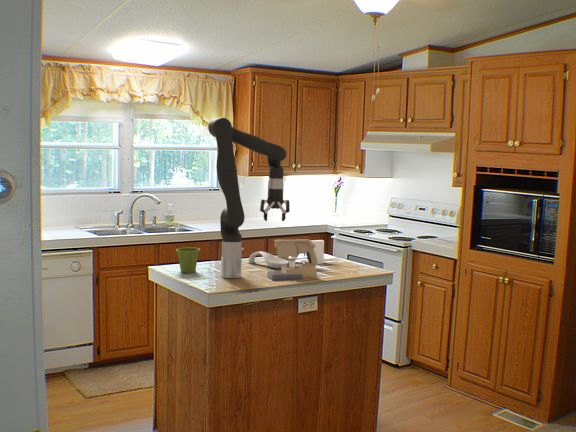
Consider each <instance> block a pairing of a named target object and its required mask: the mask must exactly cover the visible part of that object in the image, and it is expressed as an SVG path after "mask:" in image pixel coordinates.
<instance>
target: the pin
mask: <svg viewBox="0 0 576 432" xmlns="http://www.w3.org/2000/svg"><path fill="white" fill-rule="evenodd" d="M288 259H289V265H288V266H289V268H295V262H296V260H297V258H296V257H295V256H289V257H288Z"/></svg>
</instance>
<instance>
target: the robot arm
mask: <svg viewBox="0 0 576 432" xmlns="http://www.w3.org/2000/svg"><path fill="white" fill-rule="evenodd" d="M207 130H208V132H209V134H210V135H211V136H213V137H214V138H215V139H216V145H217V158H216V167H215V168H216V174H217V175H216V176H217V180H218V181H217V182H218V184H219V187H220V189H221V192H222V194H223V196H224V199H225V203H226V207H225V208H223V209H222V211H221V213H220V218H219V219H220V220H219V221H220V223H219V224H220V225H219V226H220V236H221V238H222V239H221V242H222V243H221V256H220V276H221V277H222V278H223V279H239V278H241V277H242V250H243V249H242V243H243V241H242V239H243V237H242V234H241V232H240V230H239V228H240V227H241V226H243V224H244V223H245V212H244V207H243V203H242V200H241V199H242V198H241V193H240V186H239V179H238V171H237V164H236V157H235V151H234V144H237V145H239V146H242V147H243V148H246V149H248V150H250V151H253V152H254V153H256V154H259V155H262V156H266V157H267V162H268V163H267V164H268V168H269V169H268V181H267V182H268V183H267V199H263V198H262V199H260V207H259V208H260V209H259V211H260V212H261V213H263V220H264V221H265V222H267V221H268V212H269V211H270V210H271V209H277V210H278V209H279V210H280V211H281V221H282V222H285V220H286V215H287V213H290V200H288V199H286V200H285V199H284V167H282V163H281V162H282V161H284V160H285V159H286V158H287V150H286V149H285V148H284V147H283V146H280V145H279V144H275V143H272V142H269V141H267V140H265V139H263V138H262V137H261V138H260V137H259V136H256V135H253V134H251V133H248V132H245V131H242V130H239V129H237V128H235V127H234V126H233V125H232V123H231V121H230V120H229V119H228V118H227V117H215V118H212V119H211V120H210V121H209V123H208V124H207ZM266 203H267V206H266V207H265V205H266ZM283 204H285V208H284V206H283Z"/></svg>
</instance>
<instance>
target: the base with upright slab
mask: <svg viewBox="0 0 576 432" xmlns="http://www.w3.org/2000/svg"><path fill="white" fill-rule="evenodd" d="M310 240H311V239H310ZM311 241H312V242H313V243H314V244H315V247H314V251H315V254H316V257H317V260H318V261H317V264H318V265H321V264H324V261H325V260H324V259H325V258H324V257H325V255H324V254H325V240H323V239H317V240H316V239H315V240H311ZM309 245H310V244H309ZM310 246H311V245H310ZM306 262H308V259H307V258H306ZM317 264H316V265H317Z"/></svg>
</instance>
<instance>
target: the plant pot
mask: <svg viewBox="0 0 576 432" xmlns="http://www.w3.org/2000/svg"><path fill="white" fill-rule="evenodd" d="M175 251H176V254H177V257H178V263H179V269H180V272H181V273H186V274H191V273H192V274H193V273H195V272H196V271H197V264H198V263H197V262H198V257H199V254H200V253H199V252H200V251H201V248H199V247H179V248H176V249H175Z"/></svg>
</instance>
